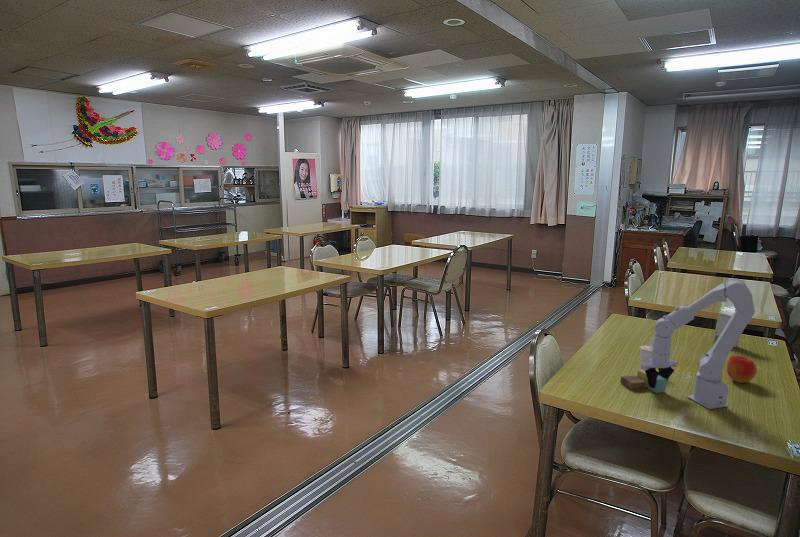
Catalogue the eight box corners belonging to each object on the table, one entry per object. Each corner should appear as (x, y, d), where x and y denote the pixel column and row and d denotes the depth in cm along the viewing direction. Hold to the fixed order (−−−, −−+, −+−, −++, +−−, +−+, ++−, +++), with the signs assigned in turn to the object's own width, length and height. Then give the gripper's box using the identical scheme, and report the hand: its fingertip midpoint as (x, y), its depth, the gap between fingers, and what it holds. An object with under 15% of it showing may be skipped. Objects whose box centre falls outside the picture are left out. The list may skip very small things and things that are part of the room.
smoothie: (657, 374, 187) (661, 341, 184) (639, 373, 188) (643, 339, 185) (652, 368, 193) (656, 335, 190) (635, 366, 194) (639, 334, 191)
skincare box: (712, 343, 224) (717, 311, 221) (720, 341, 227) (725, 310, 224) (730, 349, 217) (735, 316, 214) (739, 347, 219) (744, 315, 216)
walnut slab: (644, 389, 174) (645, 381, 173) (630, 390, 173) (631, 382, 172) (634, 382, 180) (635, 375, 179) (620, 383, 178) (621, 376, 178)
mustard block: (652, 385, 177) (654, 373, 176) (644, 386, 176) (645, 374, 175) (644, 381, 181) (646, 368, 180) (636, 382, 180) (637, 369, 179)
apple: (743, 388, 176) (747, 363, 174) (718, 378, 184) (721, 354, 182) (759, 384, 179) (764, 359, 177) (734, 374, 188) (738, 351, 186)
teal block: (664, 391, 171) (666, 378, 170) (655, 392, 170) (657, 380, 169) (656, 387, 175) (657, 374, 174) (647, 388, 174) (649, 375, 173)
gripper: (668, 345, 175) (663, 379, 178) (636, 349, 171) (632, 383, 174) (684, 352, 168) (679, 387, 171) (651, 356, 165) (646, 392, 167)
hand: (656, 386), depth 172 cm, fingers closed on teal block, 4 cm apart
